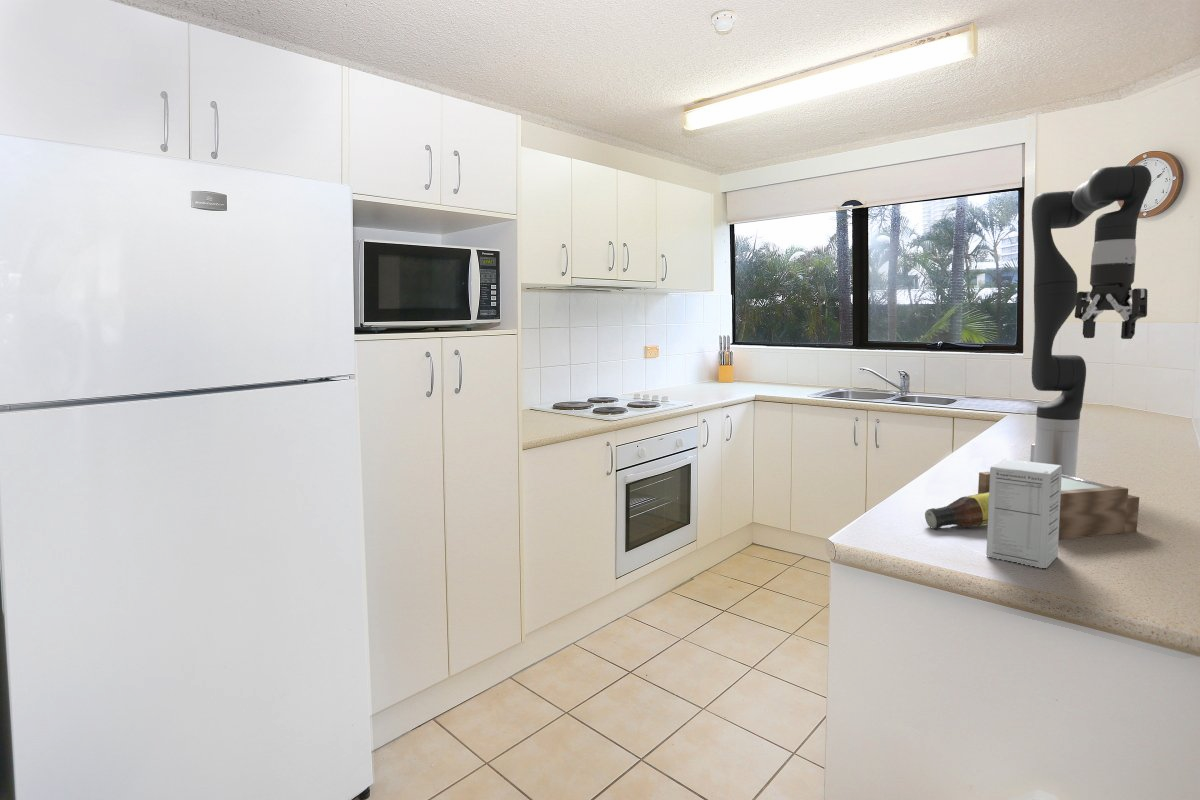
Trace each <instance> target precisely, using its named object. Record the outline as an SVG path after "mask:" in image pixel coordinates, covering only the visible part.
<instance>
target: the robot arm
mask: <svg viewBox="0 0 1200 800" xmlns="http://www.w3.org/2000/svg"><path fill="white" fill-rule="evenodd" d="M1151 183H1152V174H1151V172H1150V169H1149V168H1148V167H1146V166H1145V165H1141V164H1135V165H1120V166H1106V167H1101V168H1098V169H1096V170H1095V171H1093V172H1092V173H1091V176H1090V178H1089V180H1087V181H1084V182H1083V183H1081V184H1080V185H1079V186H1078V187H1077V188H1076V189H1075V190H1064V191H1063V190H1062V191H1049V192H1041V193H1039V194H1037V195H1036V196H1035V198H1034V200H1033V202H1032V205H1031V229H1032V239H1033V251H1034V253H1033V254H1034V270H1033V271H1034V272H1033V273H1034V275H1033V276H1034V277H1033V309H1034V310H1033V311H1034V312H1033V314H1034V315H1033V317H1034V319H1033V320H1034V333H1033V335H1034V337H1033V345H1032V346H1033V349H1032V357H1031V358H1032V359H1031V382H1032V385H1033V388H1035V390H1037V391H1040V392H1061V393H1060V395H1059V396H1058V397H1056V398H1055V399H1053V400H1051V401H1049V402H1045V403H1042V404H1039V405H1038V406H1037V408H1036V413H1035V414H1036V415H1035V432H1034V433H1035V434H1034V443H1032V444H1031V445H1030V446H1031V447H1030V458H1029V459H1030V460H1029V462H1036V463H1045V464H1054V465H1062V474H1063V475H1067V476H1071V477H1075V478H1077V468H1078V467H1077V465H1078V464H1077V463H1078V453H1079V438H1080V437H1079V436H1080V421H1081V411H1082V408H1083V402H1084V393H1085V386H1086V379H1087V365H1086V361H1085V360H1084V358H1083V357H1082V356H1081V355H1076V354H1053V353H1052V352H1053V345H1054V340H1055V339H1056V338H1055V337H1056V336H1057V334H1058V332H1059V330H1060V329H1061V328H1062V326H1063V325H1064V323H1065V322H1066V321H1067V319H1068V318H1069V317H1070V315H1071V314H1072V313H1073V311H1074V317H1075V319H1079V320H1081V321H1082V336H1083V338H1084V339H1094V338H1095V334H1096V323H1097V322H1096V319H1097V318H1098V317H1099V315H1100V314H1103V312H1104V311H1115V312H1116V313H1117V314H1119V315H1120V317H1121V318H1122V319H1123V320H1122V322H1121V332H1120V333H1121V335H1120V338H1121V339H1122V340H1131V339H1133V337H1134V336H1135V334H1136V333H1135V332H1136V322H1137V321H1138V320H1139V319H1140V320H1141V319H1142V318H1146V317H1147V316H1148V289H1147V288H1140V287H1139V288H1133V289H1132V285H1133V283H1134V282H1135V272H1136V256H1137V246H1136V245H1137V244H1136V241H1137V240H1136V238H1137V226H1138V219H1139V216H1140V212H1141V209H1142V206H1143V204H1144V201H1145V199H1146V197H1147V194H1148V191H1149V190H1150V186H1151ZM1119 201H1120V202H1121V201H1123V204H1122V205H1121V207H1120V209H1118V210H1114V211H1110V212H1107V213H1106V212H1105V213H1102V214H1100V215H1099V216H1098V217H1096V220H1095V225H1094V241H1093V242H1094V243H1093V248H1092V252H1091V260H1090V263H1091V264H1090V277H1089V278H1090V279H1089V285H1090V286H1091V287H1092V288H1091V290H1090V291H1078V277H1077V274H1076V272H1075V270H1074V268H1073V267H1072V266H1071V265H1070V263H1069V262H1068V261H1067V260H1066V258H1065V257H1064V256H1063V255H1062V253H1061V252H1060V251H1059V249H1058V248H1057V246H1056V244H1055V241H1054V238H1053V235H1052V234H1053V233H1052V230H1053V229H1056V230H1057V229H1069V228H1074V227H1076V226H1078V225H1080V224H1081V223H1083V222H1084V221H1085V220H1086V219H1088V218H1089V217H1090V216H1091V215H1092V214H1093V213H1094V212H1096V211H1098V210H1101V209H1103V208H1106V207H1108V206H1110V205H1113V204H1114V203H1115V202H1119ZM1130 299H1131V301H1130Z"/></svg>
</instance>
